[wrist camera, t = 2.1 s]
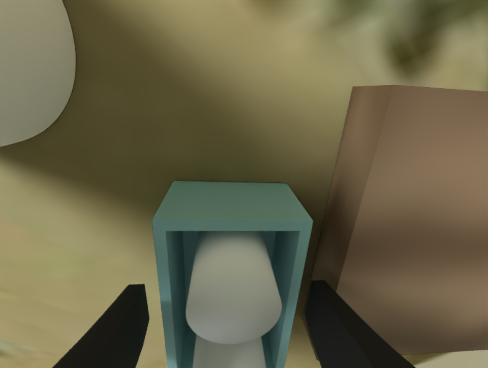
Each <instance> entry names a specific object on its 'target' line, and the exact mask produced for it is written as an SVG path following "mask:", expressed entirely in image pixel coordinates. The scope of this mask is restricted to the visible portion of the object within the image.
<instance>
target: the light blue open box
mask: <svg viewBox="0 0 488 368" xmlns="http://www.w3.org/2000/svg"><path fill="white" fill-rule="evenodd" d="M312 224H313V220H312V219H311V217H310V216H309V214H308V213H307V212H306V210H305V209H304V207H303V206H302V205H301V203H300V202H299V200H298V199H297V197H296V196H295V195H294V193H293V192H292V190H291V189H290V187H289V186H288V185H287V183H242V182H197V181H173V183H172V185H171V187H170V188H169V190H168V192H167V194H166V196H165V198H164V199H163V201H162V203H161V205H160V207H159V208H158V210H157V212H156V214H155V216H154V217H153V219H152V226H153V236H154V245H155V254H156V263H157V273H158V282H159V291H160V300H161V310H162V319H163V328H164V337H165V347H166V356H167V365H168V368H284V365H285V360H286V355H287V350H288V345H289V340H290V335H291V330H292V325H293V320H294V315H295V310H296V305H297V300H298V295H299V290H300V285H301V280H302V275H303V270H304V265H305V260H306V255H307V250H308V245H309V240H310V235H311V230H312Z"/></svg>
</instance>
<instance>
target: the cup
mask: <svg viewBox="0 0 488 368" xmlns="http://www.w3.org/2000/svg"><path fill="white" fill-rule="evenodd" d="M75 69H76V53H75V45H74V38H73V33H72V29H71V25H70V21H69V18H68V15H67V12H66V9H65V7H64V4H63V1H62V0H0V147H2V146H6V145H10V144H14V143H17V142H21V141H24V140H27V139H29V138H32V137H34V136H36V135H38V134H39V133H41V132H43V131H44V130H45V129H47V128H48V127H49V126H50V125H51V124H52V123H53V122H55V121H56V119H57V118H58V117H59V116H60V114H61V113H62V111H63V110H64V108H65V106H66V105H67V102H68V100H69V98H70V95H71V92H72V89H73V84H74V79H75Z"/></svg>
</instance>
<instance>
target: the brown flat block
mask: <svg viewBox="0 0 488 368" xmlns="http://www.w3.org/2000/svg"><path fill="white" fill-rule="evenodd" d="M311 280H325V281H326V282H327V283H328V284H329V285H330V286H331V287H332V288H333V289H334V290H335V292H336V293H337V294H338V295H339V296H340V297H341V298H342V299H343V300H344V301H345V302H346V303H347V304H348V305H349V306H350V307H351V308H352V309H353V310H354V311H355V312H356V313H357V314H358V315H359V316H360V317H361V318H362V319H363V320H364V321H365V322H366V323H367V324H368V325H369V326H370V327H371V328H372V329H373V330H374V331H375V332H376V333H377V334H378V335H379V336H380V337H381V338H382V339H384V340H385V341H386V342H387V343H388V344H389V345H390V346H391V347H392V348H393V349H394V350H396V351H397V352H398V353H399V354H400V355H408V354H425V353H441V352H457V351H473V350H488V92H485V91H471V90H457V89H443V88H429V87H415V86H401V85H383V86H359V87H353V89H352V93H351V98H350V102H349V107H348V112H347V116H346V121H345V125H344V130H343V135H342V139H341V144H340V148H339V153H338V157H337V162H336V167H335V171H334V176H333V180H332V185H331V189H330V194H329V199H328V203H327V208H326V212H325V217H324V221H323V226H322V231H321V235H320V240H319V244H318V249H317V254H316V258H315V263H314V267H313V272H312V276H311ZM310 284H311V281H310ZM309 289H310V286H309ZM308 293H309V290H308ZM307 298H308V295H307ZM306 302H307V299H306ZM305 306H306V304H305ZM304 311H305V308H304ZM302 319H303V322H304V325H305V327H306V330H307V333H308V336H309V339H310V342H311V344H312V347H313V350H314V353H315V356H316V359H317V360H319V359H318V356H317V354H316V351H315V348H314V346H313V343H312V340H311V337H310V334H309V330H308V326H307V322H306V318H305V314H304V313H303V318H302Z"/></svg>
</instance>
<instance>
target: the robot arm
mask: <svg viewBox="0 0 488 368" xmlns="http://www.w3.org/2000/svg"><path fill="white" fill-rule="evenodd" d="M304 314H305V318H306V322H307V326H308V330H309V334H310V337H311V340H312V343H313V346H314V348H315V351H316V354H317V356H318V359H319V362H320V364H321V367H322V368H415V367H414V366H413V365H412V364H411V363H409V362H408V361H407V360H406V359H405V358H404V357H402V356H401V355H400V354H399V353H398V352H397V351H396V350H394V349H393V348H392V347H391V346H390V345H389V344H388V343H387V342H386V341H385V340H384V339H382V338H381V337H380V336H379V335H378V334H377V333H376V332H375V331H374V330H373V329H372V328H371V327H370V326H369V325H368V324H367V323H366V322H365V321H364V320H363V319H362V318H361V317H360V316H359V315H358V314H357V313H356V312H355V311H354V310H353V309H352V308H351V307H350V306H349V305H348V304H347V303H346V302H345V301H344V300H343V299H342V298H341V297H340V296H339V295H338V294H337V293H336V292H335V290H334V289H333V288H332V287H331V286H330V285H329V284H328V283H327V282H326V281H325V280H311V284H310V289H309V293H308V298H307V302H306V306H305V311H304ZM148 323H149V312H148V305H147V298H146V291H145V284H132V285H128V286H127V287H126V288H125V289H124V291H123V292H122V293H121V294H120V295H119V296H118V298H117V299H116V300H115V301H114V302H113V303H112V305H111V306H110V307H109V308H108V309H107V310H106V311H105V313H104V314H103V315H102V316H101V317H100V318H99V319H98V320H97V321H96V323H95V324H94V325H93V326H92V327H91V328H90V329H89V330H88V331H87V332H86V334H85V335H84V336H83V337H82V338H81V339H80V340H79V341H78V342H77V343H76V344H75V345H74V346H73V347H72V348H71V349H70V350H69V351H68V352H67V353H66V354H65V355H64V356H63V357H62V358H61V359H60V360H59V361H58V362H57V363H56V364H55V365H54V366H53V367H52V368H136V365H137V362H138V359H139V356H140V353H141V350H142V347H143V343H144V339H145V335H146V331H147V327H148Z"/></svg>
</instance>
